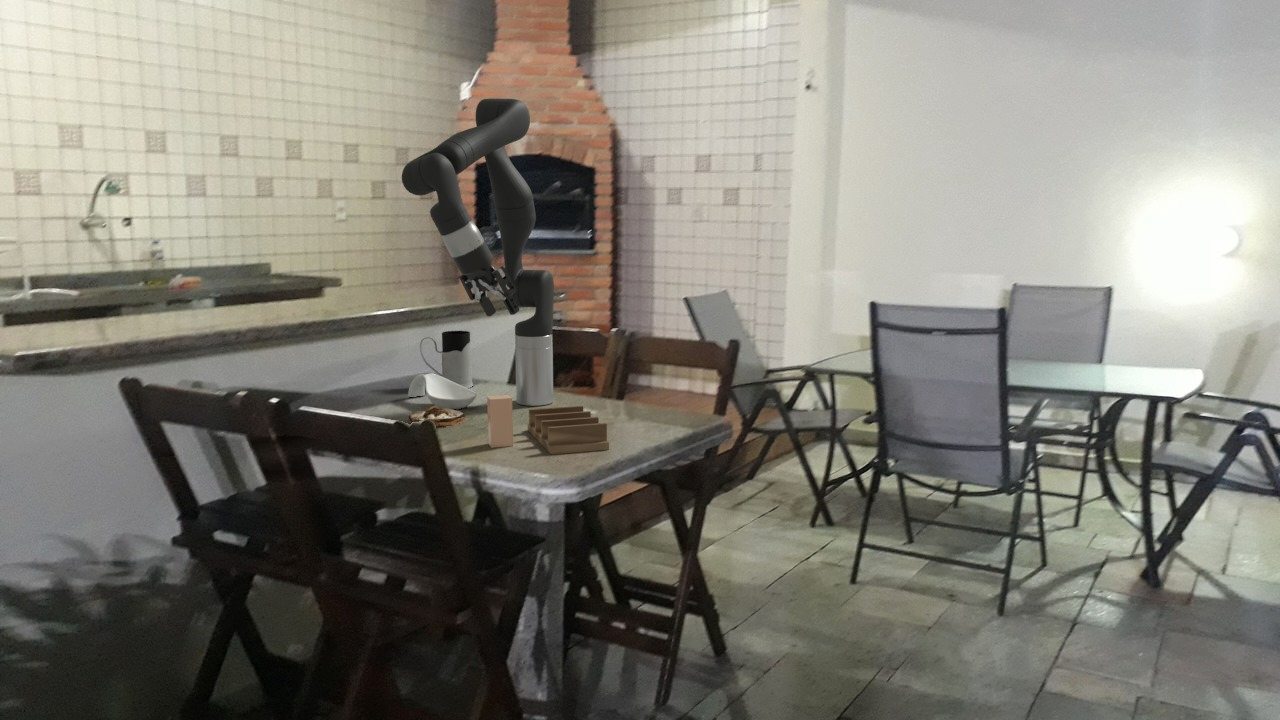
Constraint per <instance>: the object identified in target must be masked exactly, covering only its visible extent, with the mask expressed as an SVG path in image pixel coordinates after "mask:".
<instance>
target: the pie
mask: <svg viewBox="0 0 1280 720" xmlns="http://www.w3.org/2000/svg"><path fill="white" fill-rule="evenodd" d="M424 419H429V420H431V421H433V422H434V423H435V425H436V427H437V428H438V427H441V428H442V427H443V428H447V427H446V426H451V427H453V426H452V425H454V426H457V425H459V424H458V423H460V424H462V423H463V422H462V421H464V420H465V419H466V415H465V413H463V412H462V411H460V410H458V409H456V410H454V409H449V408H439V407H436V406H435V405H432V406H430V407H428V408H427V409H426V410H416V411H414V412H413V411H412V412H410V413H409V415H408V421H409V424H410V423H412V422H419V421H422V420H424ZM456 424H457V425H456ZM438 429H439V428H438Z"/></svg>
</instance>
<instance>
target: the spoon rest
mask: <svg viewBox="0 0 1280 720" xmlns="http://www.w3.org/2000/svg"><path fill="white" fill-rule="evenodd" d="M442 376H443V375H442ZM442 376H440V375H439V374H437V373H433V372H432V373H431V372H430V373H427V374H418V375H416V376H415V377H414V378H413V379H412V381H411V382H410V385H409V388H408V392H407V394H408V395H407V397H408V398H409V397H416V396H422V395H426V396H427V398H428V400H429V401H430V403H431V404H432V406H436V407H439V408H449V409H456V410H460V409H461V408H462V409H464V408H466V407H469V405H471V404H472V403H474V401H475V400H476V397H477V393H476V392H475V391H474V390H473V389H471V388H469V389H468V388H466V387H463V386H461V385H459V384H457V383H454V382H452V381H450V380H448V379H446V378H444V377H442Z"/></svg>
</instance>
